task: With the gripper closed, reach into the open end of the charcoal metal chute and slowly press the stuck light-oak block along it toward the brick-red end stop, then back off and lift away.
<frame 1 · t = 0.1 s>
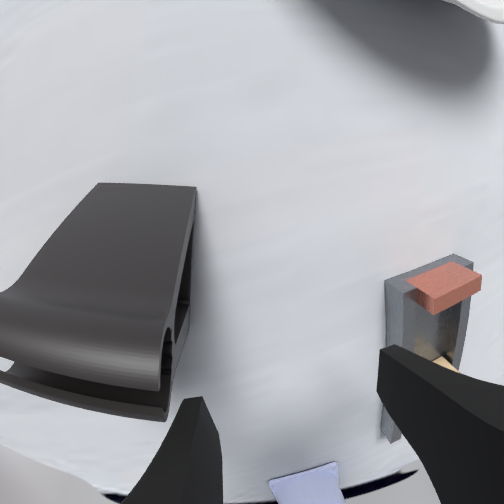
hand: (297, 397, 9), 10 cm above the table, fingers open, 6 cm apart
chute: (418, 355, 22), on the table
phone stand: (144, 257, 17), on the table, touching gripper
oak block: (434, 394, 20), point 3 cm above the table, slide at 0.0 cm
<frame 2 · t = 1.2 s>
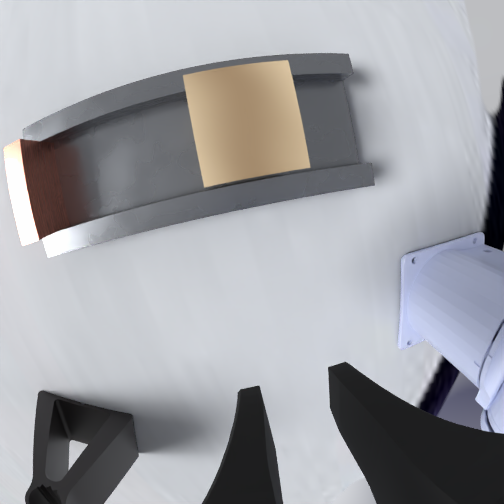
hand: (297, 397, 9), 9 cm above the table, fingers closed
chute: (191, 146, 15), on the table
phone stand: (89, 423, 20), on the table
oak block: (241, 127, 12), point 3 cm above the table, slide at 0.0 cm
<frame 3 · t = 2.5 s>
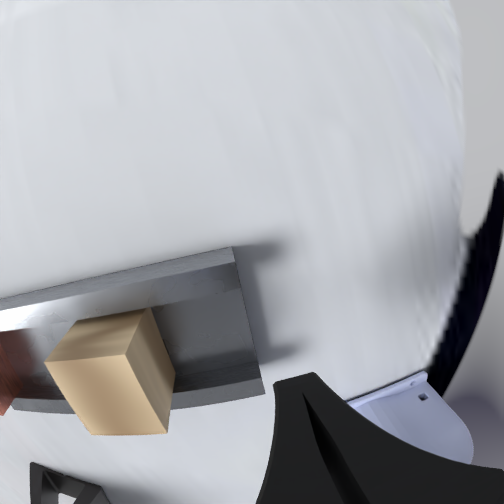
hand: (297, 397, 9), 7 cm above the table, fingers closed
chute: (96, 340, 15), on the table
phone stand: (72, 485, 19), on the table
oak block: (117, 370, 12), point 3 cm above the table, slide at 0.0 cm
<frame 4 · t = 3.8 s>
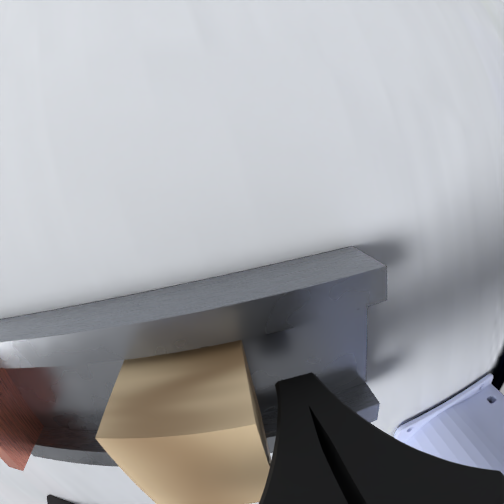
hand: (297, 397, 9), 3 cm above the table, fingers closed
chute: (151, 373, 11), on the table
oak block: (198, 425, 8), point 3 cm above the table, slide at 0.3 cm, touching gripper
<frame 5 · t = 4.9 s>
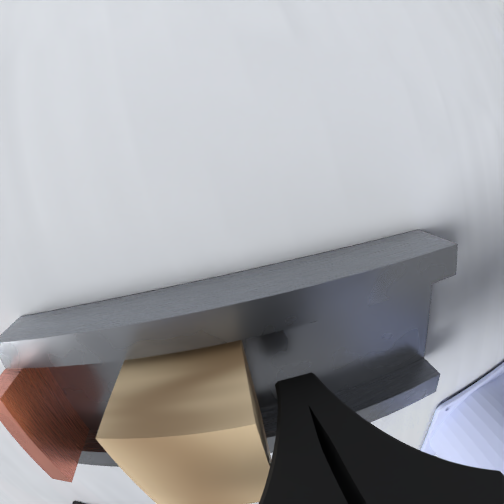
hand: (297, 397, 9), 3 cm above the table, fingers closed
chute: (227, 361, 11), on the table
oak block: (198, 425, 8), point 3 cm above the table, slide at 3.7 cm, touching gripper
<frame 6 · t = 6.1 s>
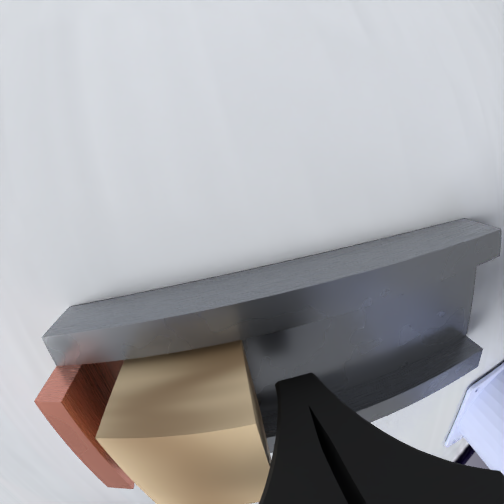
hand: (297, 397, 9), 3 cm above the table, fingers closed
chute: (302, 343, 12), on the table
oak block: (198, 425, 8), point 3 cm above the table, slide at 6.8 cm, touching gripper
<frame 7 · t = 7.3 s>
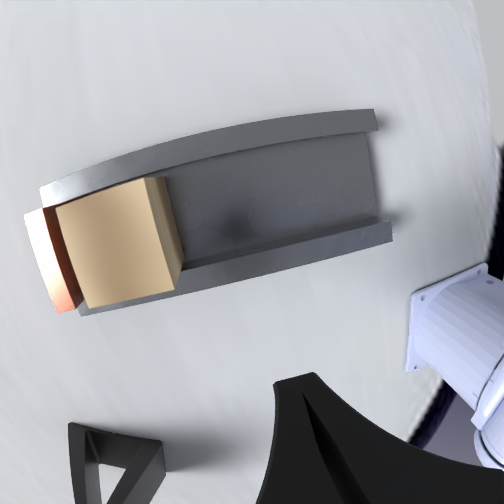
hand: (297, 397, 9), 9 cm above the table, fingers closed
chute: (217, 204, 16), on the table
phone stand: (118, 448, 21), on the table
oak block: (126, 235, 12), point 3 cm above the table, slide at 6.8 cm
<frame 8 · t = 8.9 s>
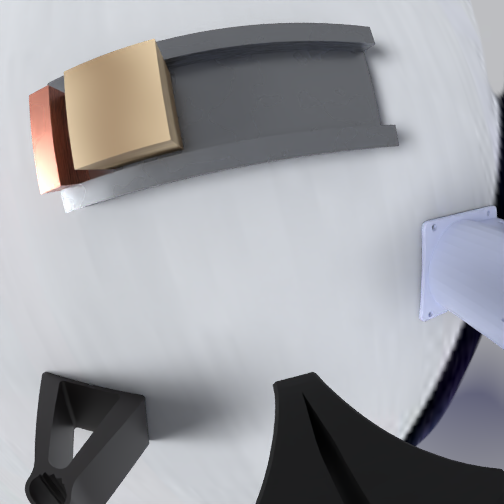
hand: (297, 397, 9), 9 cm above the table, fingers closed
chute: (220, 105, 15), on the table
phone stand: (97, 408, 19), on the table
oak block: (127, 111, 11), point 3 cm above the table, slide at 6.8 cm
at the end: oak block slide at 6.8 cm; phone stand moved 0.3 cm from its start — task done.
